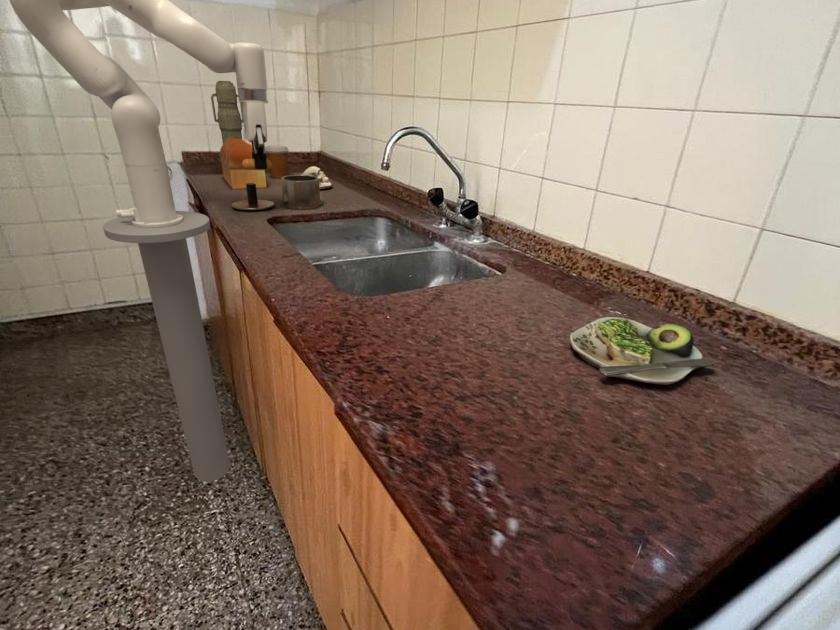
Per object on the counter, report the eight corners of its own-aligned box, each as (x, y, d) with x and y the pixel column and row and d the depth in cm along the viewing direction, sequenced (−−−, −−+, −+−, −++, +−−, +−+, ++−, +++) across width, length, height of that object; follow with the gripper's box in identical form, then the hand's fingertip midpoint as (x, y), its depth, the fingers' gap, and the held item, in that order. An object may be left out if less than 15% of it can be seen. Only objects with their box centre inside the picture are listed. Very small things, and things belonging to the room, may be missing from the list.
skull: (337, 182, 177) (332, 164, 167) (331, 204, 173) (326, 187, 164) (307, 179, 178) (300, 161, 168) (301, 201, 174) (294, 184, 164)
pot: (288, 210, 138) (285, 182, 134) (280, 202, 147) (278, 175, 143) (324, 208, 143) (323, 180, 139) (315, 200, 152) (313, 174, 148)
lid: (234, 213, 132) (231, 188, 129) (230, 204, 142) (226, 181, 139) (277, 210, 137) (275, 186, 134) (270, 201, 147) (268, 179, 144)
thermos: (251, 174, 191) (240, 81, 176) (221, 174, 188) (207, 80, 172) (251, 170, 199) (240, 81, 183) (222, 171, 195) (209, 80, 179)
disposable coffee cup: (286, 179, 184) (283, 148, 179) (263, 178, 184) (260, 147, 179) (293, 175, 192) (291, 146, 187) (272, 174, 193) (269, 144, 187)
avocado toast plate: (658, 415, 55) (669, 384, 53) (540, 352, 67) (546, 325, 65) (721, 366, 66) (732, 338, 64) (610, 320, 78) (616, 296, 76)
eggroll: (243, 170, 125) (242, 159, 124) (241, 169, 128) (240, 157, 126) (273, 170, 129) (272, 159, 127) (271, 169, 131) (270, 158, 130)
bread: (222, 177, 182) (216, 138, 175) (254, 176, 187) (250, 138, 181) (232, 189, 162) (226, 145, 156) (267, 187, 168) (263, 145, 161)
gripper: (234, 95, 125) (242, 163, 133) (242, 96, 112) (250, 172, 120) (262, 96, 128) (268, 163, 136) (273, 98, 115) (279, 172, 123)
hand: (260, 167), depth 128 cm, fingers closed on eggroll, 3 cm apart
